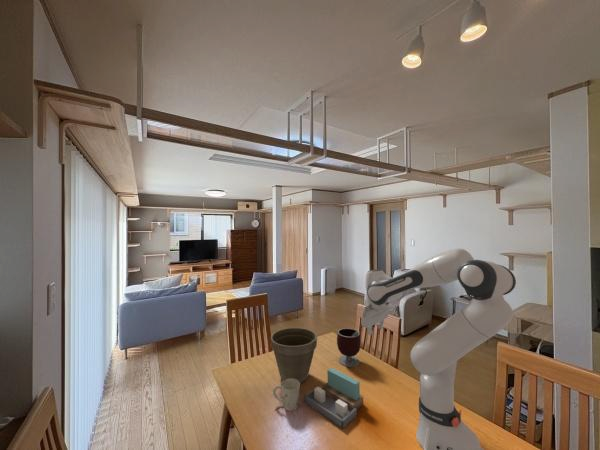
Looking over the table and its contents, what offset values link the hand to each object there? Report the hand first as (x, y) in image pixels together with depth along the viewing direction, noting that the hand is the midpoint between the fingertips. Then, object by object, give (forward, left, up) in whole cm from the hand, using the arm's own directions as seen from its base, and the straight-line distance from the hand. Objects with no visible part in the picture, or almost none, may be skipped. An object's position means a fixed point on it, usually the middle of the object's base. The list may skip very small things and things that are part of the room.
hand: (375, 331), depth 121 cm
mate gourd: (+25, -14, -29) cm, 41 cm away
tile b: (+15, +23, -26) cm, 38 cm away
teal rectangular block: (+9, +15, -26) cm, 31 cm away
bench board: (+9, +16, -29) cm, 34 cm away
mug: (+24, +37, -29) cm, 53 cm away
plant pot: (+38, +19, -29) cm, 52 cm away
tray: (+9, +25, -29) cm, 39 cm away
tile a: (+3, +23, -26) cm, 35 cm away
